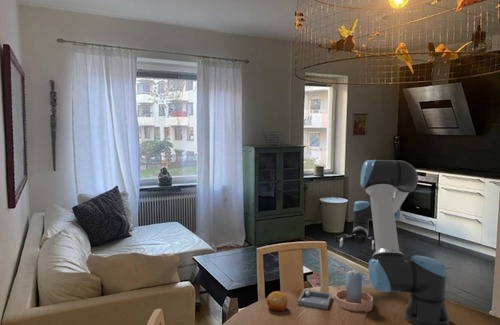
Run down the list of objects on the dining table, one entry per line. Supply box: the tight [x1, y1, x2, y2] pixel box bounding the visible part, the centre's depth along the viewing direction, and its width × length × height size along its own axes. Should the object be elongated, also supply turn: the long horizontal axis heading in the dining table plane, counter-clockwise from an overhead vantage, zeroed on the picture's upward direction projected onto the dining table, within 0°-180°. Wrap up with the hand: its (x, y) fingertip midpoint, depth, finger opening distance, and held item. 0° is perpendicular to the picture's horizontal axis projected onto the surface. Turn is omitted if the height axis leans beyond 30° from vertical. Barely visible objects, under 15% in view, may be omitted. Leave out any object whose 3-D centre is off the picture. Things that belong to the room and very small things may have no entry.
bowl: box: [333, 288, 374, 313], centre depth 157 cm, size 15×15×4 cm
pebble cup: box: [345, 269, 363, 303], centre depth 156 cm, size 6×6×13 cm
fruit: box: [266, 290, 288, 312], centre depth 151 cm, size 8×8×8 cm
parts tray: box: [297, 289, 333, 310], centre depth 158 cm, size 12×12×3 cm
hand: (356, 245), depth 167 cm, fingers open, 13 cm apart
